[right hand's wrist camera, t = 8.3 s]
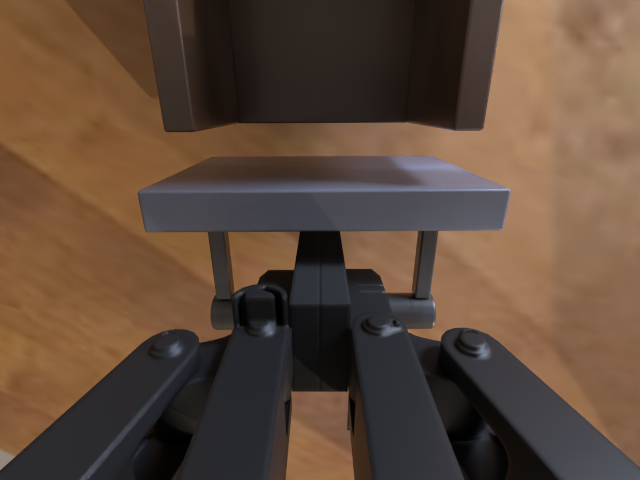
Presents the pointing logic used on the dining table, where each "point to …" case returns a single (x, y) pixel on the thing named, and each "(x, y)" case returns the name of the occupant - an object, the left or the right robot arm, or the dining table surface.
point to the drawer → (324, 107)
